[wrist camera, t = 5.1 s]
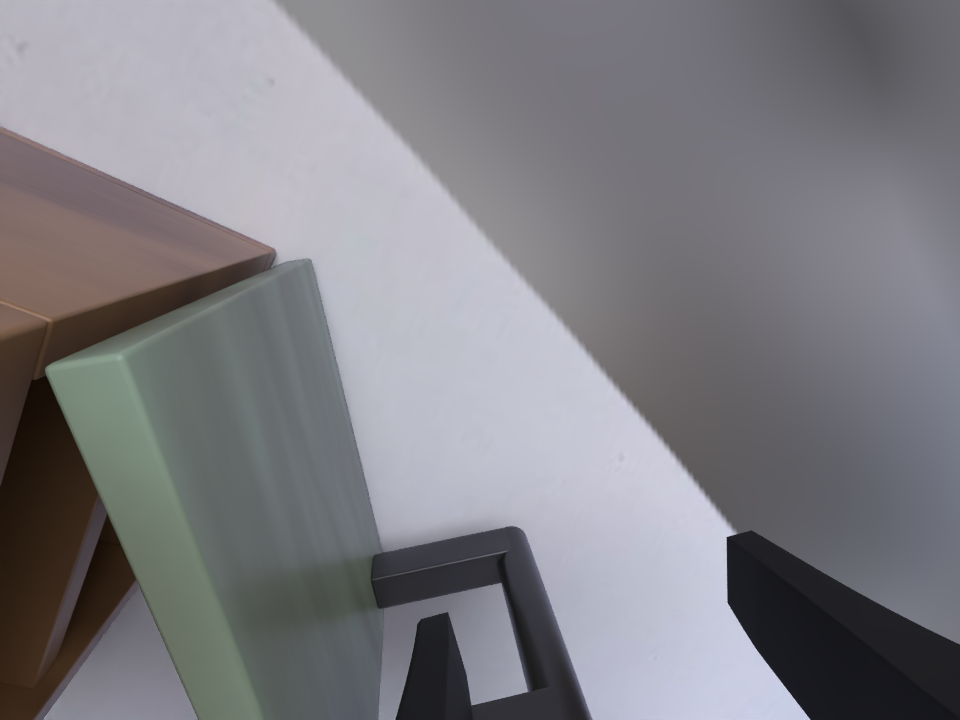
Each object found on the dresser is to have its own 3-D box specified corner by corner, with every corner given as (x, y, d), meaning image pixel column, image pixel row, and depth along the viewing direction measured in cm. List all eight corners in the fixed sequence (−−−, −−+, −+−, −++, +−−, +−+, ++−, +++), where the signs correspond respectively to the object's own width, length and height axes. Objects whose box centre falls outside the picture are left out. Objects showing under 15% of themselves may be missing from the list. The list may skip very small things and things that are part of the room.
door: (478, 231, 15) (604, 273, 5) (520, 542, 19) (641, 902, 9) (284, 261, 15) (38, 367, 5) (366, 575, 18) (316, 995, 8)
